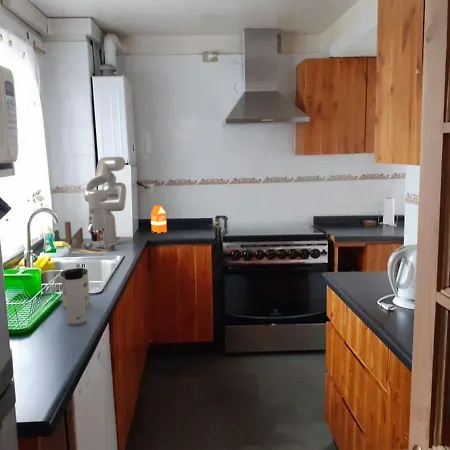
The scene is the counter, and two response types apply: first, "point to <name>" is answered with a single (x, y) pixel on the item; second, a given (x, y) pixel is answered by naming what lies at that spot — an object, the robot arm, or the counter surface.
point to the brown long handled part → (77, 236)
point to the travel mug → (75, 297)
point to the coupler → (98, 236)
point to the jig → (95, 249)
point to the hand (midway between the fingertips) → (97, 240)
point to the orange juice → (158, 219)
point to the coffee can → (86, 288)
